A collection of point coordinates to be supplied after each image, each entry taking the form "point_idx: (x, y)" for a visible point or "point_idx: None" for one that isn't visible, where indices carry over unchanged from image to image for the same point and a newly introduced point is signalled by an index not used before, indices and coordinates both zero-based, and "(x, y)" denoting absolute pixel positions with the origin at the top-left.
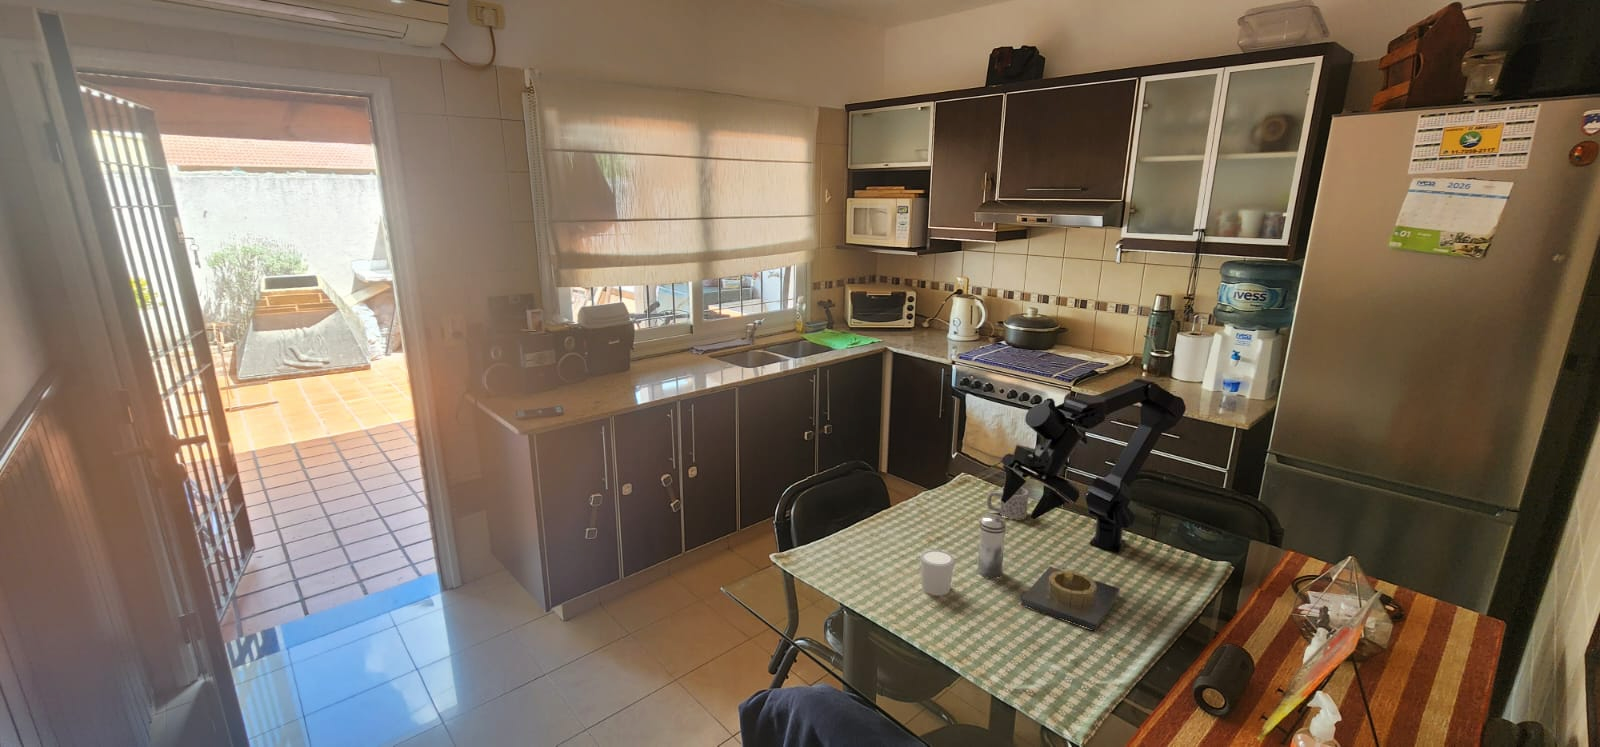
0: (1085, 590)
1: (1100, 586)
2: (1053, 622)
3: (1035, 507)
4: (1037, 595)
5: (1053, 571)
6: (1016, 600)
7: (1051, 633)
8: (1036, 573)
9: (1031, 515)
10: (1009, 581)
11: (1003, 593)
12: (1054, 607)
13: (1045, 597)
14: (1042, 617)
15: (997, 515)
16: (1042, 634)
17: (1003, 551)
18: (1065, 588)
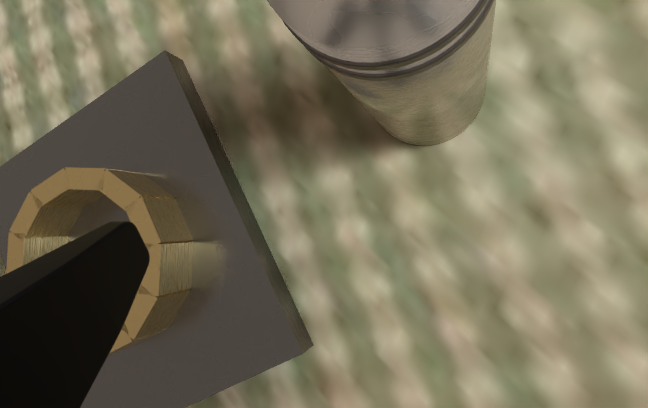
0: (22, 258)
1: (107, 405)
2: (75, 99)
3: (22, 283)
4: (155, 122)
5: (262, 330)
6: (211, 64)
7: (42, 53)
8: (333, 289)
9: (108, 226)
10: (328, 128)
11: (266, 45)
12: (81, 126)
13: (134, 142)
14: (106, 83)
15: (420, 7)
16: (48, 23)
17: (363, 105)
18: (58, 194)
